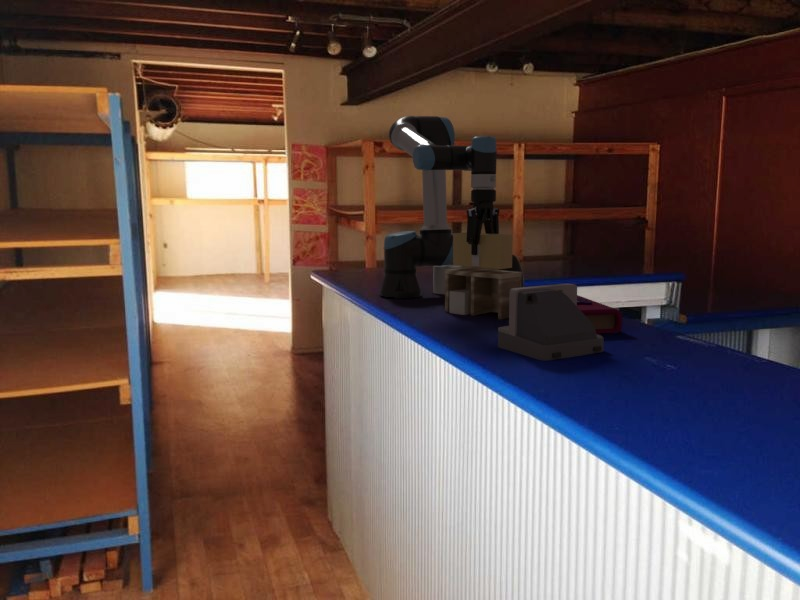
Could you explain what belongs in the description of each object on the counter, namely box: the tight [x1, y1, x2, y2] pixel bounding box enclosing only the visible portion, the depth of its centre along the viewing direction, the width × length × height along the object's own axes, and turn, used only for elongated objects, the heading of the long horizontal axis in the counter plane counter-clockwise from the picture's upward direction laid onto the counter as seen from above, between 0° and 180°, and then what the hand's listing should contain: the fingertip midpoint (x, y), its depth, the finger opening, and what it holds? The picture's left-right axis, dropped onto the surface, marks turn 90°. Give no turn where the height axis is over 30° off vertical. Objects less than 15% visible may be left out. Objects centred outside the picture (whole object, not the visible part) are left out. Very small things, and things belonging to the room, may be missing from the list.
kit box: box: [452, 232, 513, 270], centre depth 211 cm, size 6×18×10 cm, turn 47°
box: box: [448, 288, 471, 316], centre depth 215 cm, size 6×8×7 cm
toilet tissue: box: [432, 264, 470, 295], centre depth 259 cm, size 11×12×10 cm
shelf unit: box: [444, 266, 522, 320], centre depth 213 cm, size 22×10×13 cm, turn 46°
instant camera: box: [497, 282, 605, 362], centre depth 163 cm, size 21×21×15 cm
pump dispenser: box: [497, 253, 525, 287], centre depth 249 cm, size 10×10×15 cm
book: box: [577, 294, 623, 335], centre depth 193 cm, size 21×28×8 cm
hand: (482, 264), depth 211 cm, fingers closed on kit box, 6 cm apart
